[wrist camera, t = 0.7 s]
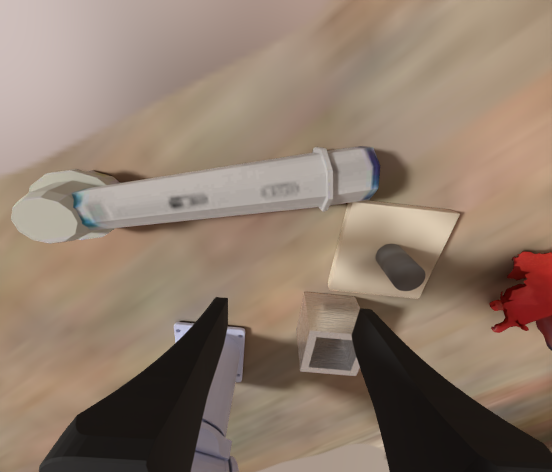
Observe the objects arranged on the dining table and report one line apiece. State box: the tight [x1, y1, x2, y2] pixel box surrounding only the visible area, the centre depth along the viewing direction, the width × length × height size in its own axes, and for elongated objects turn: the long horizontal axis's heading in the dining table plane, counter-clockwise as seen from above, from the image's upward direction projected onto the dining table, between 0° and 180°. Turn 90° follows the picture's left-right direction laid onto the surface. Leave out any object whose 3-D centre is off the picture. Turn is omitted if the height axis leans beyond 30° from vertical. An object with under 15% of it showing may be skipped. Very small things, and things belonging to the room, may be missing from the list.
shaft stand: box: [328, 200, 460, 299], centre depth 19 cm, size 9×9×4 cm
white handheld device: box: [11, 146, 380, 243], centre depth 17 cm, size 5×7×25 cm
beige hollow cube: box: [297, 292, 360, 376], centre depth 23 cm, size 5×5×5 cm
